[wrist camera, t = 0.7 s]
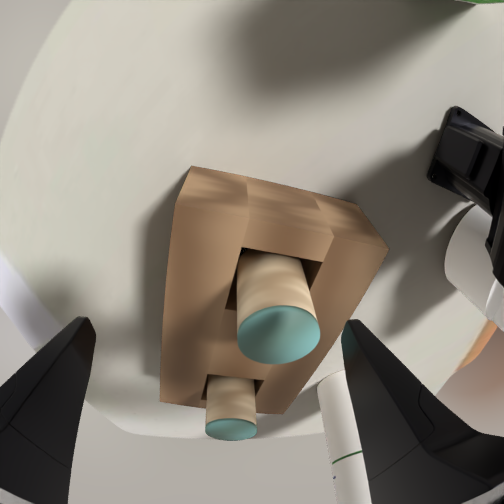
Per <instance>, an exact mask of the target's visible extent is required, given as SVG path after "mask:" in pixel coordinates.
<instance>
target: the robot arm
mask: <svg viewBox="0 0 504 504" xmlns="http://www.w3.org/2000/svg"><path fill="white" fill-rule="evenodd" d="M457 111H458V115H457ZM503 135H504V126H503ZM433 174H435V175H434V177H433V178H432V176H433ZM427 178H428V180H430V181H431V182H432V183H435V184H437V185H439V186H441V187H444V188H446V189H448V190H450V191H452V192H454V193H456V194H458V195H461V196H463V197H465V198H467V199H469V200H471V201H473V202H474V203H475V204H477V205H478V206H479V207H480V208H481V209H483V210H484V211H485V212H486V213H487V214H489V215H490V216H491V217H492V222H491V226H490V231H489V235H488V238H486V242H485V247H486V249H487V251H488V253H489V255H490V259H491V262H492V266H493V271H492V273H493V275H494V276H495V278H496V279H497V281H498V282H499V283H500V284H501V286H502V287H503V288H504V137H503V136H501V135H499V134H497V133H495V132H494V131H493V130H491V129H490V128H489V127H487V126H486V125H485V124H483V123H482V122H481V121H479V120H478V119H477V118H475V117H474V116H472V115H471V114H469V113H468V112H467V111H465V110H464V109H462V108H460V107H458V106H454V107H453V108H452V110H451V113H450V116H449V119H448V122H447V124H446V127H445V130H444V133H443V135H442V138H441V141H440V143H439V146H438V149H437V151H436V154H435V156H434V159H433V161H432V164H431V166H430V169H429V171H428V174H427ZM95 342H96V333H95V330H94V328H93V326H92V324H91V322H90V320H89V318H88V317H80V316H79V317H77V318H75V319H74V320H73V321H72V322H71V323H70V324H68V325H67V326H66V327H65V328H64V329H63V330H62V331H60V332H59V333H58V334H57V335H56V336H55V337H54V338H53V339H51V340H50V341H49V342H48V343H47V344H46V345H45V346H44V347H43V348H41V349H40V350H39V351H38V352H37V353H36V354H35V355H34V356H33V357H32V358H31V359H29V361H27V362H26V363H25V364H24V365H23V366H22V367H21V368H20V369H19V370H18V371H17V372H16V373H15V374H13V375H12V376H11V377H10V378H9V379H8V380H7V381H6V382H5V383H4V384H3V385H2V386H1V387H0V504H68V494H69V485H70V477H71V468H72V461H73V454H74V449H75V443H76V437H77V432H78V426H79V421H80V416H81V411H82V407H83V403H84V398H85V394H86V390H87V385H88V381H89V377H90V372H91V366H92V360H93V353H94V347H95ZM341 344H342V351H343V359H344V367H345V375H346V381H347V386H348V390H349V394H350V398H351V403H352V407H353V411H354V416H355V420H356V425H357V429H358V434H359V439H360V443H361V448H362V453H363V458H364V463H365V468H366V474H367V479H368V481H369V482H368V485H369V491H370V497H371V503H372V504H504V437H500V436H495V435H489V434H484V433H481V432H478V431H476V430H474V429H473V428H471V427H470V426H469V425H467V424H466V423H465V422H464V421H463V420H461V419H460V418H459V417H458V416H457V415H456V414H454V413H453V412H452V411H451V410H450V409H448V408H447V407H446V406H445V405H444V404H443V403H442V402H441V401H439V400H438V399H437V398H436V397H435V396H434V395H433V394H432V393H431V392H430V391H429V390H428V389H427V388H426V387H425V386H424V385H423V384H422V383H421V382H420V381H419V380H418V379H417V378H416V377H415V376H414V374H413V373H412V372H411V371H410V370H409V369H408V368H407V367H406V366H405V365H404V364H403V363H402V362H401V361H400V360H399V359H398V358H397V357H396V356H395V355H394V354H393V353H392V352H391V351H390V350H389V349H388V348H387V347H386V346H385V345H384V344H383V343H382V342H381V341H380V340H379V339H378V338H377V337H376V336H375V335H374V334H373V333H372V332H371V331H370V330H369V329H368V328H367V327H366V326H365V325H364V324H363V323H362V322H361V321H360V320H358V319H352V320H347V321H346V323H345V326H344V329H343V332H342V336H341ZM421 384H422V385H421Z"/></svg>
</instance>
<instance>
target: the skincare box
mask: <svg viewBox="0 0 504 504" xmlns="http://www.w3.org/2000/svg"><path fill="white" fill-rule="evenodd" d="M456 1H463V2H468V3H473V4H493V3H504V0H456Z"/></svg>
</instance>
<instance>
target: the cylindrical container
mask: <svg viewBox="0 0 504 504" xmlns="http://www.w3.org/2000/svg"><path fill="white" fill-rule="evenodd" d="M317 394H318V399H319V404H320V409H321V414H322V419H323V425H324V430H325V436H326V441H327V446H328V452H329V458H330V463H331V469H332V475H333V479H334V487H335V493H336V500H337V504H372V503H371V497H370V491H369V485H368V482H369V481H368V479H367V474H366V468H365V463H364V458H363V453H362V448H361V443H360V439H359V434H358V429H357V425H356V420H355V416H354V411H353V407H352V403H351V398H350V394H349V390H348V386H347V381H346V375H345V370H342V371H339V372H336V373H333V374H331V375H329V376H328V377H326V378H325V379H323V380H322V381H321V382H320V383H319V385H318V386H317Z"/></svg>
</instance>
